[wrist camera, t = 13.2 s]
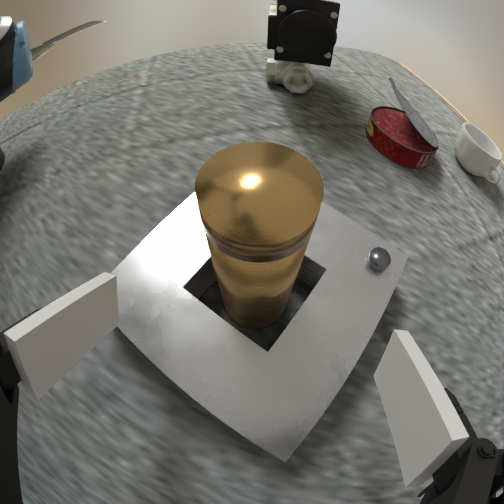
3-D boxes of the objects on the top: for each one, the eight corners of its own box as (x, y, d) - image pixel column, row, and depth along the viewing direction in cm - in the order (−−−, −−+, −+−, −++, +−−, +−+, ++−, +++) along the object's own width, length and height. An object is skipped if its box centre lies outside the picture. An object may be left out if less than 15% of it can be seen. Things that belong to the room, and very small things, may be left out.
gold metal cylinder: (210, 303, 20) (168, 192, 9) (249, 259, 22) (247, 129, 11) (261, 341, 18) (277, 262, 8) (298, 292, 20) (344, 175, 10)
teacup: (440, 144, 31) (454, 117, 27) (469, 150, 32) (482, 127, 27) (472, 194, 27) (492, 167, 22) (499, 197, 27) (517, 174, 22)
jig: (112, 311, 19) (86, 292, 16) (238, 184, 25) (236, 151, 22) (278, 450, 14) (286, 464, 11) (389, 276, 21) (411, 252, 17)
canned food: (375, 144, 37) (401, 92, 31) (427, 181, 32) (457, 125, 26) (340, 132, 30) (371, 64, 24) (408, 177, 25) (447, 101, 19)
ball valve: (266, 63, 42) (269, -21, 26) (311, 68, 41) (321, -15, 26) (261, 108, 33) (265, -17, 17) (324, 114, 32) (346, -7, 17)
